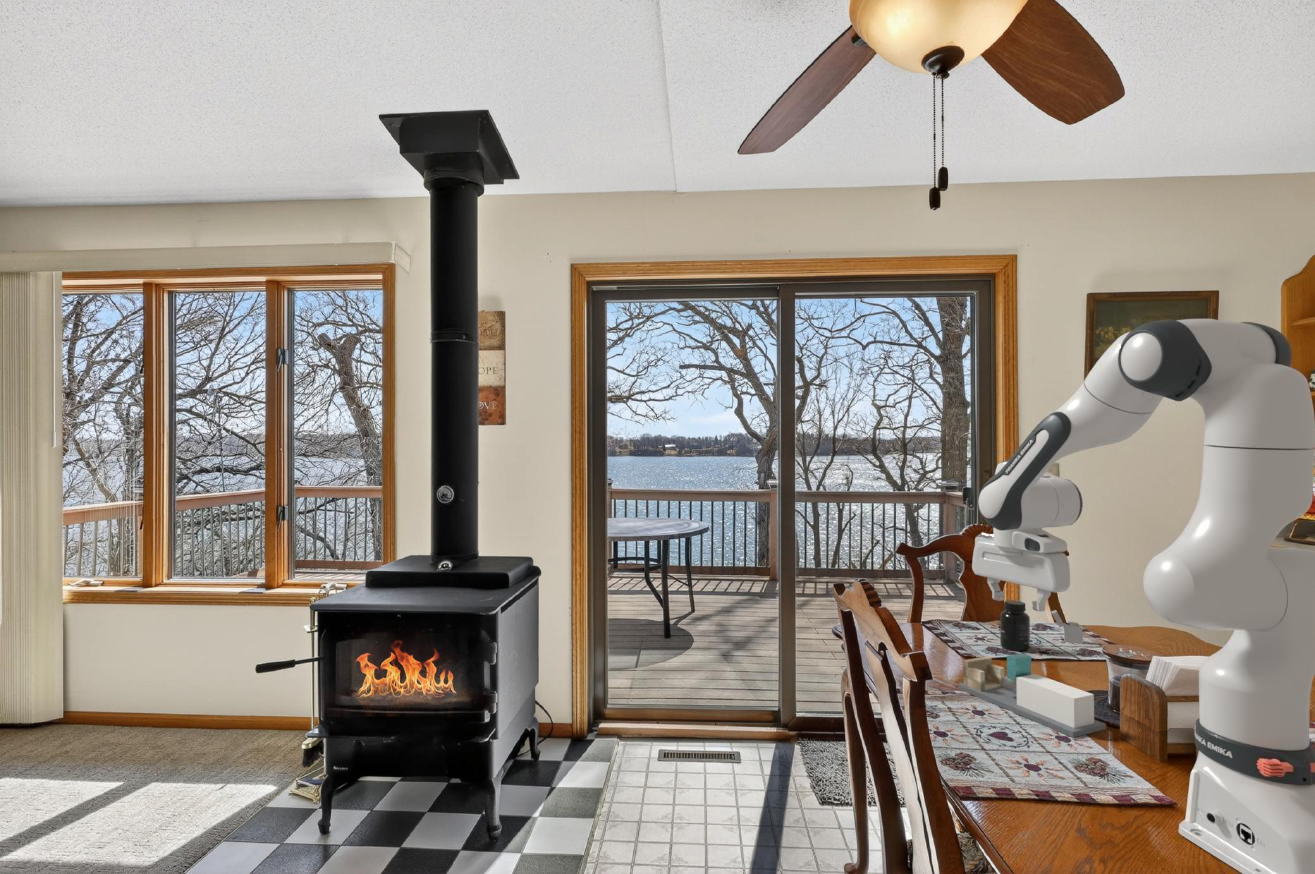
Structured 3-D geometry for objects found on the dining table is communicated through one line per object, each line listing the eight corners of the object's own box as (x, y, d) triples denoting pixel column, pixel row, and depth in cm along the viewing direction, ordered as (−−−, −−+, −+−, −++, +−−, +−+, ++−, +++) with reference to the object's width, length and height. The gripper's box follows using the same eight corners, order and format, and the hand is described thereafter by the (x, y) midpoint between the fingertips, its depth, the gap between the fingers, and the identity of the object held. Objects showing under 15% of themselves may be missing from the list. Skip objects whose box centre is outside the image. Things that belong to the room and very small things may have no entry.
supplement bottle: (994, 646, 174) (994, 600, 174) (1012, 642, 177) (1011, 598, 177) (1018, 653, 168) (1017, 606, 168) (1036, 649, 170) (1035, 603, 171)
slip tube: (1087, 716, 124) (1086, 674, 124) (1070, 720, 122) (1070, 677, 122) (1016, 689, 138) (1016, 651, 138) (1001, 692, 136) (1000, 653, 136)
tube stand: (1106, 729, 123) (1105, 694, 123) (1072, 737, 119) (1072, 701, 119) (988, 682, 147) (988, 654, 147) (958, 688, 143) (957, 659, 143)
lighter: (1081, 641, 177) (1081, 612, 177) (1082, 643, 176) (1082, 613, 176) (1051, 638, 181) (1050, 609, 181) (1051, 640, 179) (1051, 610, 179)
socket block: (1004, 686, 142) (1004, 662, 142) (980, 691, 139) (980, 666, 139) (987, 679, 146) (986, 656, 146) (963, 684, 143) (963, 660, 143)
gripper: (965, 532, 143) (965, 595, 143) (1052, 545, 124) (1052, 618, 124) (986, 530, 146) (986, 592, 146) (1075, 543, 127) (1075, 615, 127)
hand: (1017, 605), depth 135 cm, fingers open, 8 cm apart
